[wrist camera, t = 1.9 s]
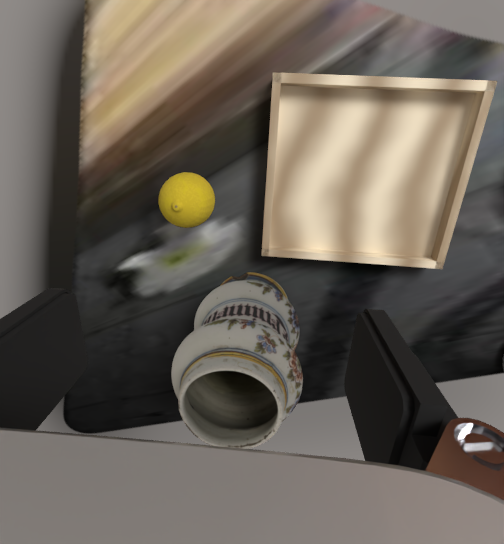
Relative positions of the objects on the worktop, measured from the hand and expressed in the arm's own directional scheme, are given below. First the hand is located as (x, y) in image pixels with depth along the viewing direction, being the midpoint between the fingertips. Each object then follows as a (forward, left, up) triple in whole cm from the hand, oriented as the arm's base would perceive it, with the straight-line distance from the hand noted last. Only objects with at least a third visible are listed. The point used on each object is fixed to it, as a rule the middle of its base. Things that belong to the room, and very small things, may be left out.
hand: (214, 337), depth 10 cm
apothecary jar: (+1, +14, -28) cm, 31 cm away
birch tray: (-10, -3, -28) cm, 30 cm away
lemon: (+8, 0, -28) cm, 29 cm away
